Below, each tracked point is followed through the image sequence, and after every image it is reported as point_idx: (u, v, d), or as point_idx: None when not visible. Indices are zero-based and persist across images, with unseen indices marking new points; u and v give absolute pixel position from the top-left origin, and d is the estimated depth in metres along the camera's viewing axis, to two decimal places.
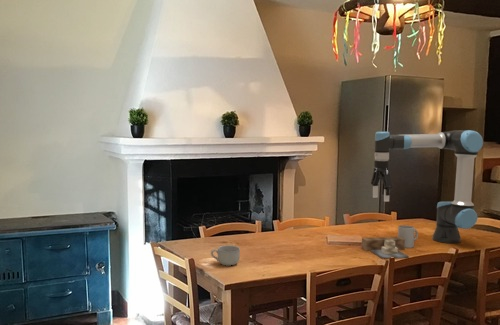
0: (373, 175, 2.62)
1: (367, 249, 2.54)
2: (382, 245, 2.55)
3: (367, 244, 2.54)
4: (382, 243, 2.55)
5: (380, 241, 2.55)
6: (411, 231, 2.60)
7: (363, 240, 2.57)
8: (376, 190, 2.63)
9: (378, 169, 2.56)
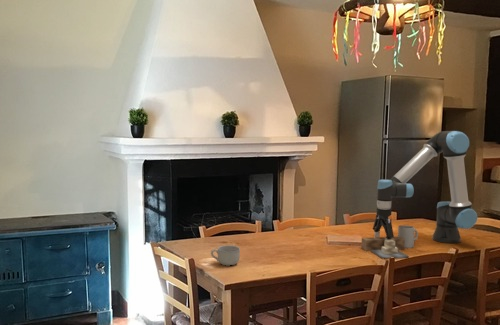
0: (375, 221, 2.64)
1: (367, 249, 2.54)
2: (382, 245, 2.55)
3: (367, 244, 2.54)
4: (382, 243, 2.55)
5: (380, 241, 2.55)
6: (411, 231, 2.60)
7: (363, 240, 2.57)
8: (378, 236, 2.65)
9: (380, 217, 2.58)
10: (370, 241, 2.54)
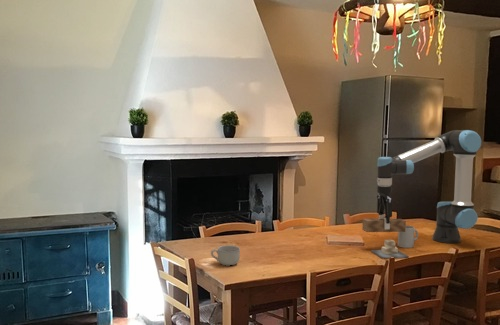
0: (377, 202, 2.62)
1: (368, 230, 2.53)
2: (383, 226, 2.54)
3: (368, 225, 2.53)
4: (383, 224, 2.54)
5: (381, 222, 2.54)
6: (411, 231, 2.60)
7: (364, 221, 2.56)
8: None
9: (381, 193, 2.58)
10: (371, 222, 2.53)
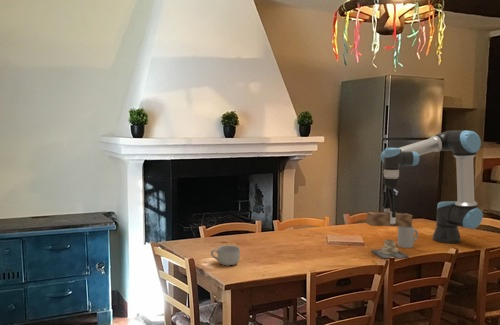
0: (383, 195, 2.50)
1: (373, 223, 2.41)
2: (388, 220, 2.42)
3: (373, 218, 2.41)
4: (389, 218, 2.42)
5: (387, 216, 2.42)
6: (411, 231, 2.60)
7: (369, 214, 2.44)
8: None
9: (387, 185, 2.46)
10: (376, 215, 2.41)
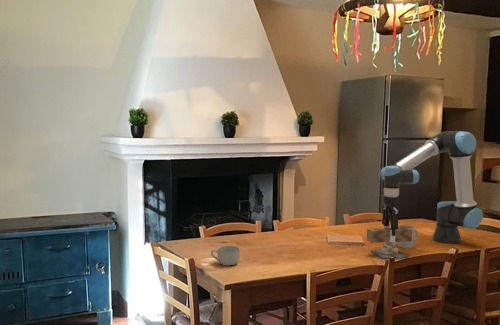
0: (383, 213, 2.50)
1: (373, 240, 2.41)
2: (388, 236, 2.42)
3: (373, 235, 2.41)
4: (388, 234, 2.42)
5: (386, 232, 2.42)
6: None
7: (368, 231, 2.44)
8: None
9: (387, 204, 2.46)
10: (376, 232, 2.41)
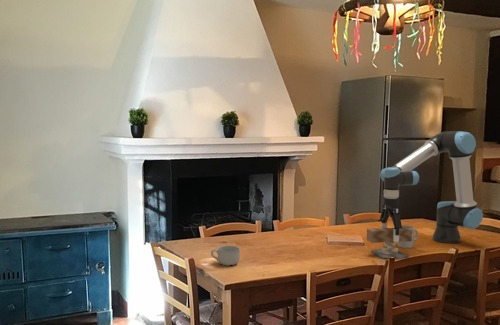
0: (382, 212, 2.52)
1: (373, 240, 2.41)
2: (388, 236, 2.42)
3: (373, 235, 2.41)
4: (388, 234, 2.42)
5: (386, 232, 2.42)
6: None
7: (368, 231, 2.44)
8: (385, 227, 2.52)
9: (387, 206, 2.46)
10: (376, 232, 2.41)
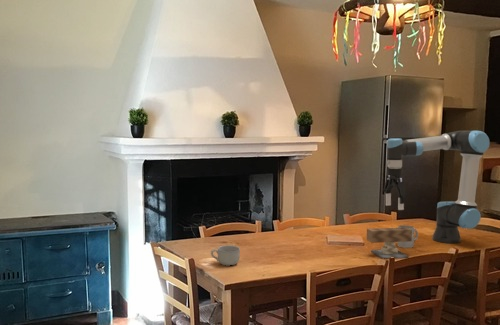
0: (386, 182, 2.58)
1: (373, 240, 2.41)
2: (388, 236, 2.42)
3: (373, 235, 2.41)
4: (388, 234, 2.42)
5: (386, 232, 2.42)
6: None
7: (368, 231, 2.44)
8: (389, 198, 2.58)
9: (391, 177, 2.52)
10: (376, 232, 2.41)
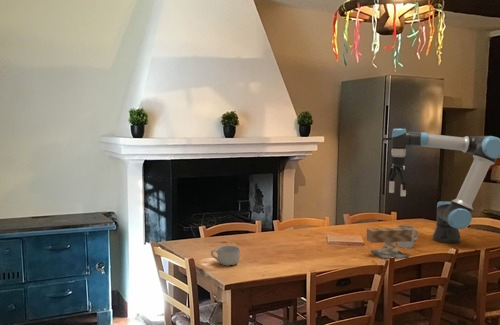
0: (390, 171, 2.71)
1: (373, 240, 2.41)
2: (388, 236, 2.42)
3: (373, 235, 2.41)
4: (388, 234, 2.42)
5: (386, 232, 2.42)
6: None
7: (368, 231, 2.44)
8: (392, 185, 2.71)
9: (395, 165, 2.65)
10: (376, 232, 2.41)
